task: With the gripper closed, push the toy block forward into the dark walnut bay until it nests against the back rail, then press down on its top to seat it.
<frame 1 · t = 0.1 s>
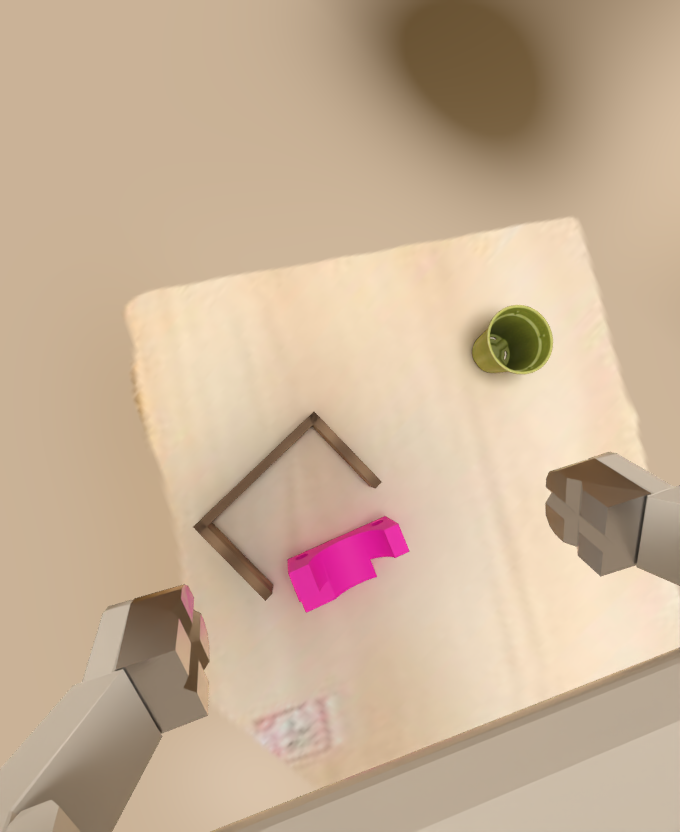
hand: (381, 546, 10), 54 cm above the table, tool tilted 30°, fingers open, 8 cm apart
toy block: (345, 557, 64), on the table
walnut bay: (282, 493, 63), on the table
plant pot: (490, 353, 69), on the table
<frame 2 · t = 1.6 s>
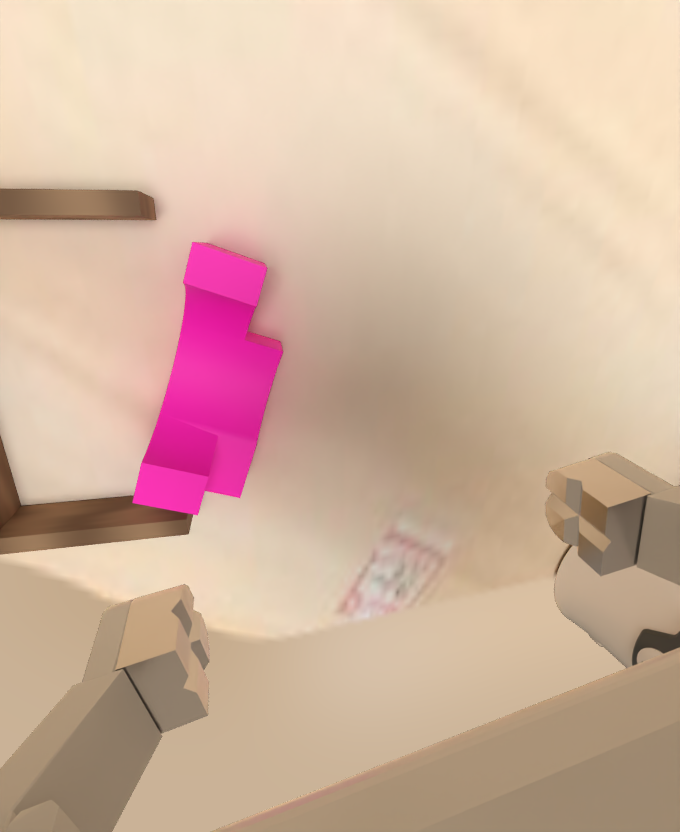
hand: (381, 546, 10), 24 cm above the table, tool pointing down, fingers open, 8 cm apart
toy block: (226, 365, 32), on the table
walnut bay: (50, 375, 30), on the table
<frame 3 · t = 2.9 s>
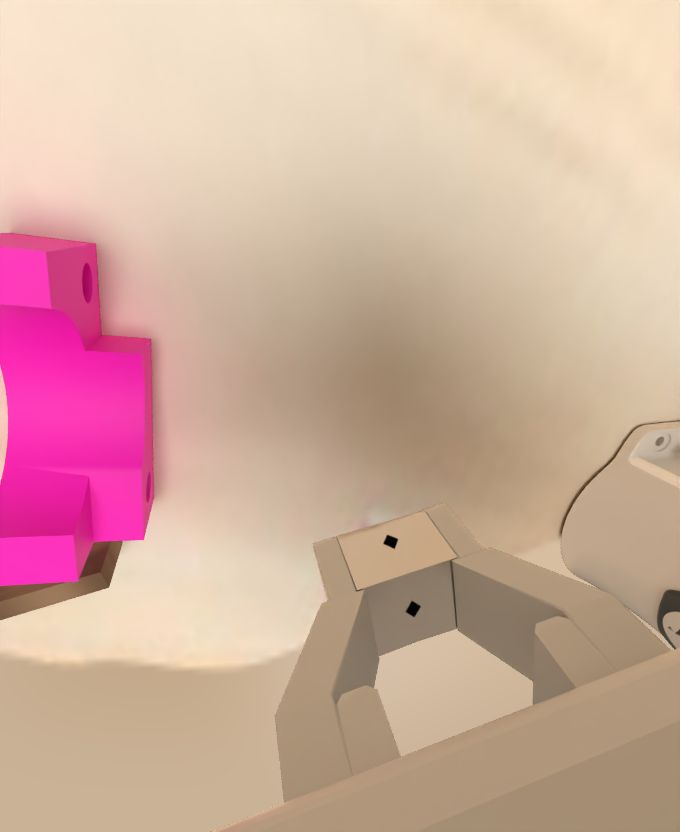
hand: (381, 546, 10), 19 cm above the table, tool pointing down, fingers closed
toy block: (93, 381, 26), on the table
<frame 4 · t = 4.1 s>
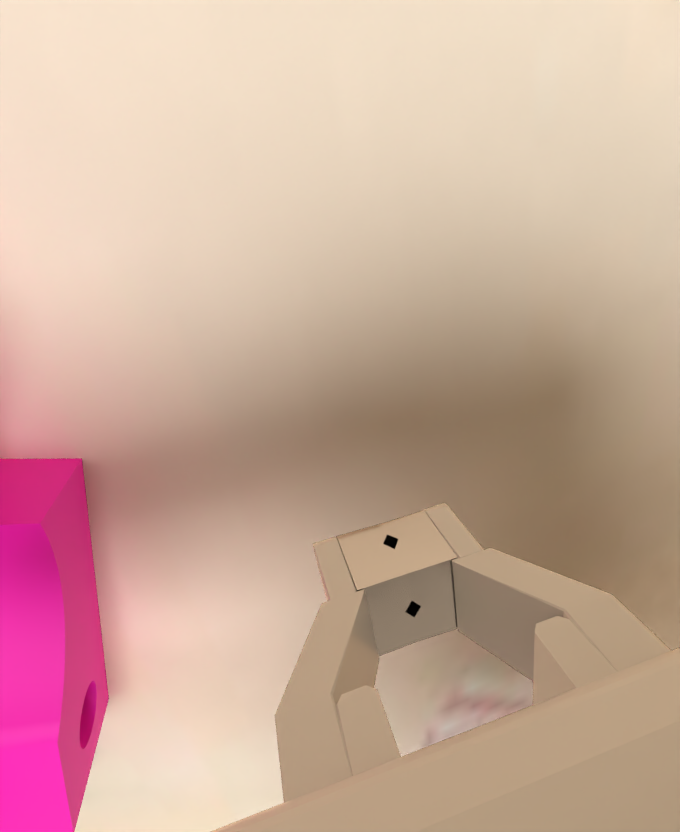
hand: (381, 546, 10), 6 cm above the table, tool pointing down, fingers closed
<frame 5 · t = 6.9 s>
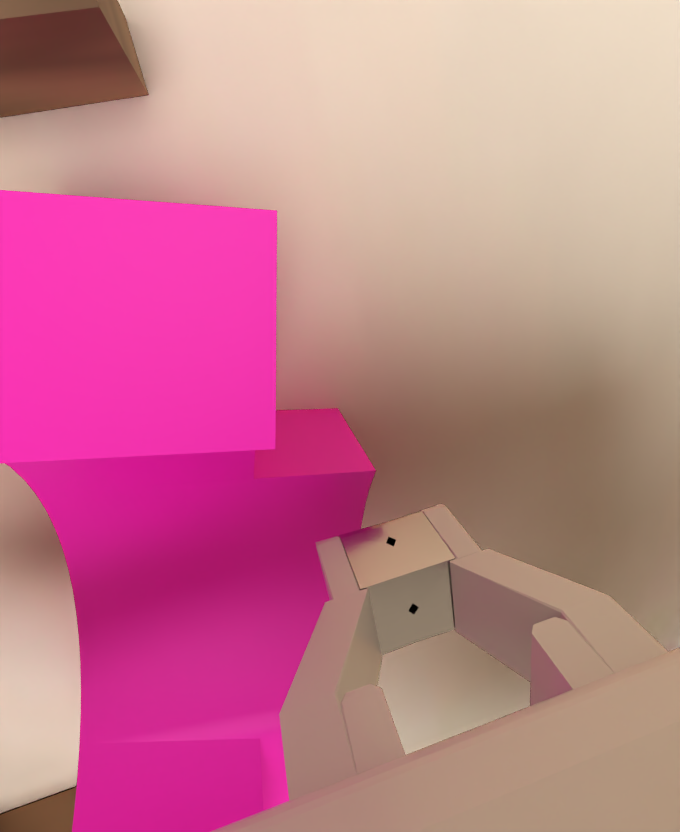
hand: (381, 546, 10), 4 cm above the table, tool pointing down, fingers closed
toy block: (225, 499, 13), on the table, touching gripper
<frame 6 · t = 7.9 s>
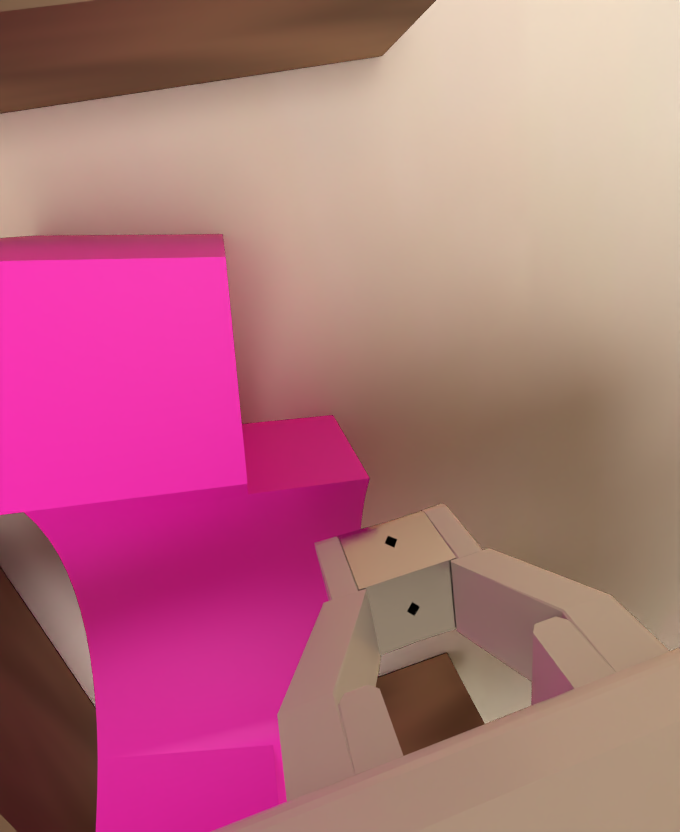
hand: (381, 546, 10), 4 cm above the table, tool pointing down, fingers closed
toy block: (227, 510, 13), on the table, touching gripper
walnut bay: (154, 522, 12), on the table
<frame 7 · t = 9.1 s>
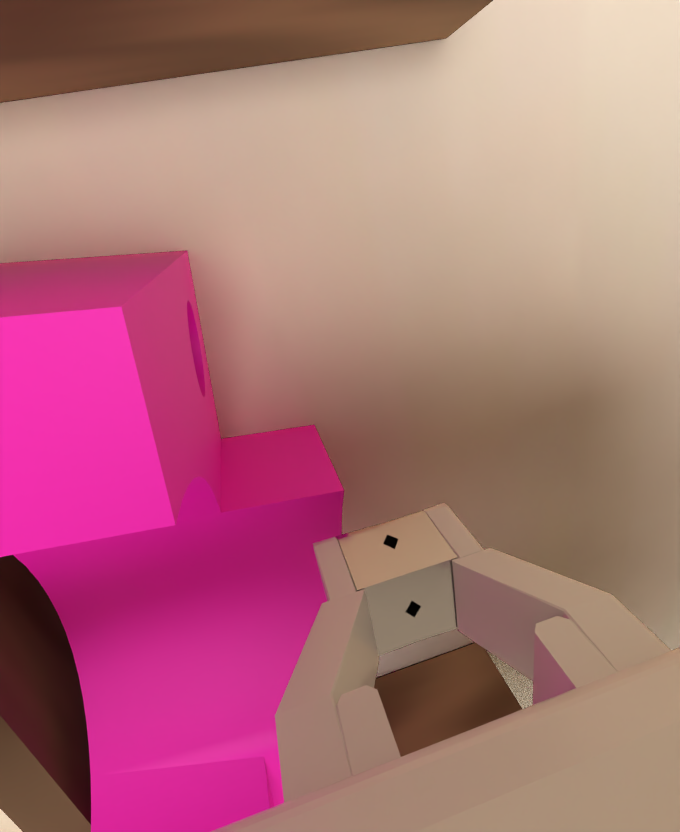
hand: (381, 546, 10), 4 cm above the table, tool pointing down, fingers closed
toy block: (214, 522, 13), on the table, touching gripper, walnut bay
walnut bay: (203, 505, 12), on the table
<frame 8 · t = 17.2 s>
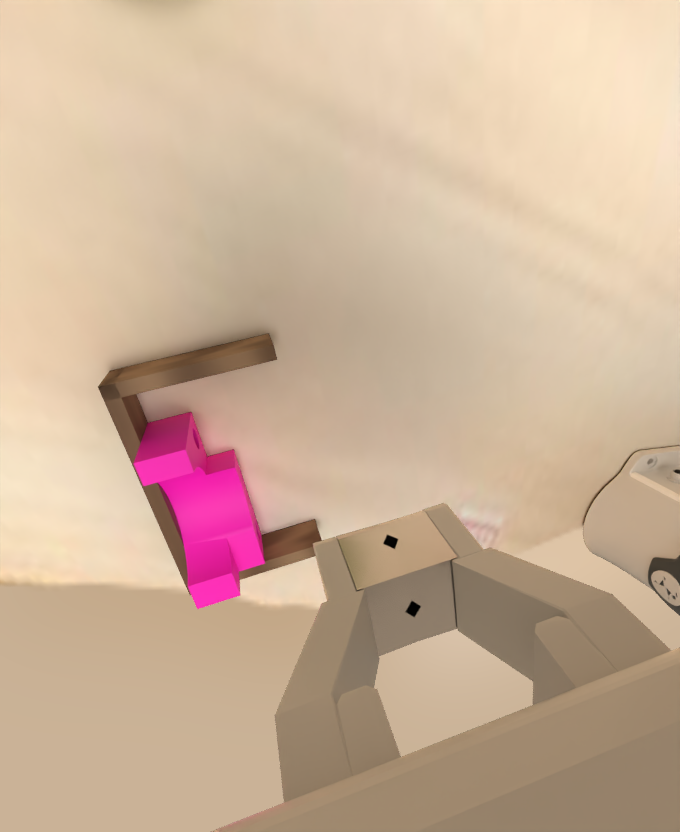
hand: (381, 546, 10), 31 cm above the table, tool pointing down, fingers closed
toy block: (209, 481, 43), on the table
walnut bay: (212, 464, 42), on the table
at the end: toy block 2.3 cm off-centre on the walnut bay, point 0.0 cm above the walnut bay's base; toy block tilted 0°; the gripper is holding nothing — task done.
